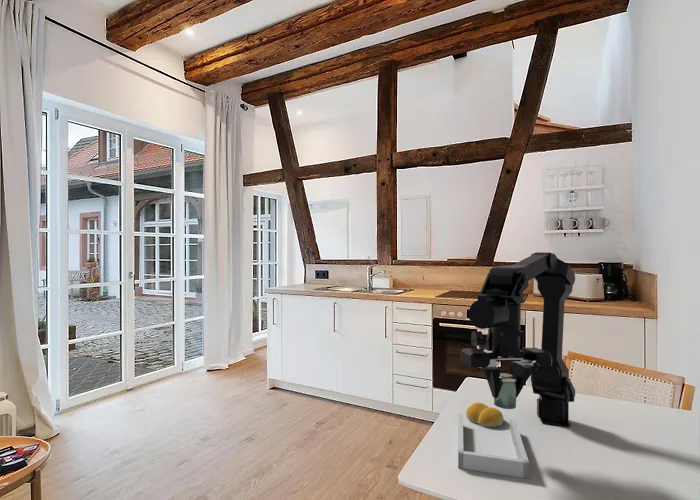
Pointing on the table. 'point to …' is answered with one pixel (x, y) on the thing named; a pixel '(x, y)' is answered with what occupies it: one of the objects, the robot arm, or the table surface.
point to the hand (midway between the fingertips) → (504, 397)
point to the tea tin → (506, 392)
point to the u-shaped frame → (495, 462)
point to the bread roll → (484, 415)
